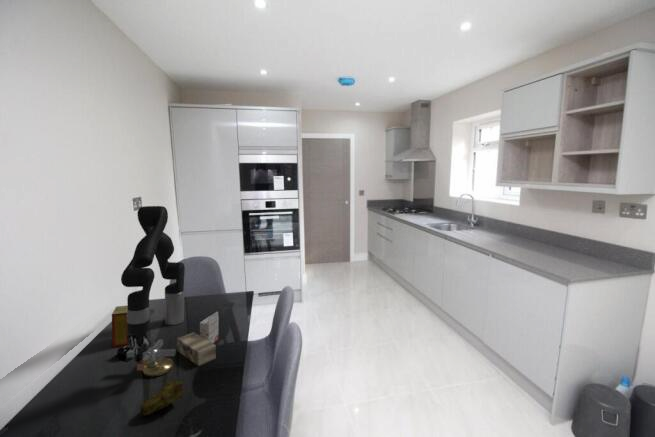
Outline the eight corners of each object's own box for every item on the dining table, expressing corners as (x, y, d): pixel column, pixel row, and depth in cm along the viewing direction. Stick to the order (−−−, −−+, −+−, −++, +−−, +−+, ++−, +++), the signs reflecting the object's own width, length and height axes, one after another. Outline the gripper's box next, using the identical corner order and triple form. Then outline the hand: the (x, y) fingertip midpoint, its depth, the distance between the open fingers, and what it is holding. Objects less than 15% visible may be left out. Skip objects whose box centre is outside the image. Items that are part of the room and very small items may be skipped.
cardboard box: (174, 351, 137) (174, 339, 137) (193, 344, 145) (194, 332, 144) (196, 367, 127) (196, 353, 126) (215, 358, 134) (215, 345, 133)
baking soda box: (129, 344, 141) (128, 311, 140) (112, 347, 139) (111, 313, 137) (132, 335, 150) (132, 304, 148) (116, 337, 147) (116, 305, 145)
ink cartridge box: (209, 337, 151) (210, 309, 150) (218, 339, 150) (219, 310, 149) (199, 346, 143) (199, 316, 141) (208, 348, 142) (208, 318, 140)
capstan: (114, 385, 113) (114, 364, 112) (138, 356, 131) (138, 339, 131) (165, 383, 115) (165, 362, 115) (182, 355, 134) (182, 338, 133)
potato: (142, 404, 104) (142, 382, 104) (184, 395, 110) (184, 374, 109) (139, 421, 97) (139, 398, 96) (183, 411, 102) (183, 388, 101)
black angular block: (142, 356, 133) (142, 346, 133) (127, 365, 126) (127, 355, 126) (120, 351, 136) (119, 341, 136) (104, 360, 129) (104, 350, 129)
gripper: (118, 317, 116) (119, 360, 118) (138, 327, 109) (138, 372, 111) (138, 311, 122) (138, 351, 124) (158, 319, 116) (158, 362, 118)
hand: (138, 361), depth 118 cm, fingers closed
